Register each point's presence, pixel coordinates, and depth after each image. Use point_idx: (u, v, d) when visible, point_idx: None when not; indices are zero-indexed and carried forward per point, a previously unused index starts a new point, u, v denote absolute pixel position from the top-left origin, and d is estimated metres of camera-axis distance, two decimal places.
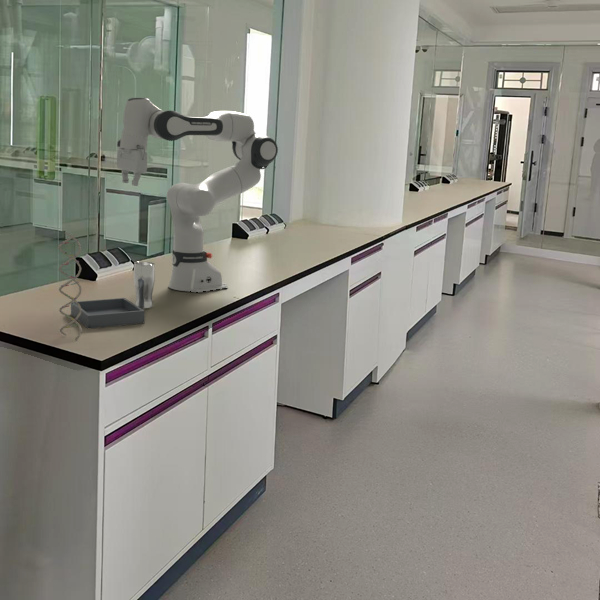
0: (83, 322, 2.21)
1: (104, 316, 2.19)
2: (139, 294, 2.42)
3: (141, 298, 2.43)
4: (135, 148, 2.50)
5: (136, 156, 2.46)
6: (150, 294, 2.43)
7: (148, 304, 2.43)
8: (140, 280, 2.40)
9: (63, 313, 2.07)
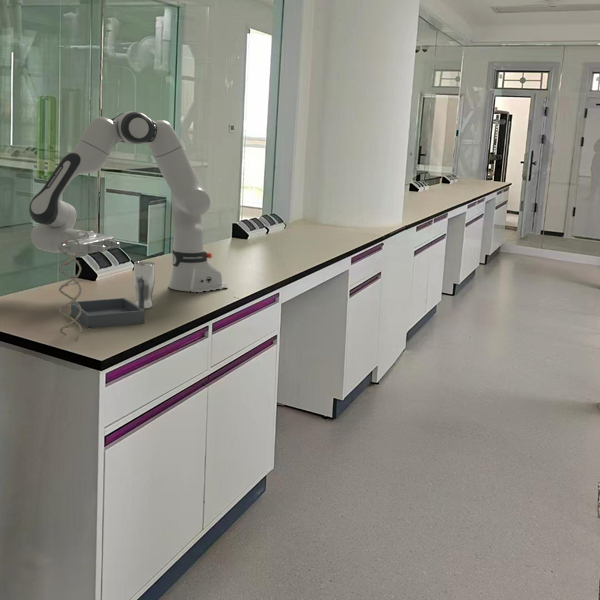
0: (83, 322, 2.21)
1: (104, 316, 2.19)
2: (139, 294, 2.42)
3: (141, 298, 2.43)
4: None
5: (70, 252, 2.39)
6: (150, 294, 2.43)
7: (148, 304, 2.43)
8: (140, 280, 2.40)
9: (63, 313, 2.07)
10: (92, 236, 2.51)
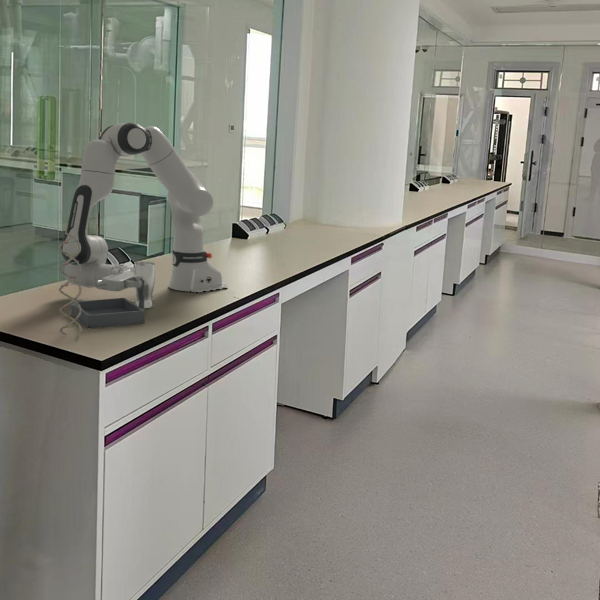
0: (83, 322, 2.21)
1: (104, 316, 2.19)
2: (139, 294, 2.42)
3: (141, 298, 2.43)
4: None
5: None
6: (150, 294, 2.43)
7: (148, 304, 2.43)
8: (140, 280, 2.40)
9: (63, 313, 2.07)
10: (126, 271, 2.50)
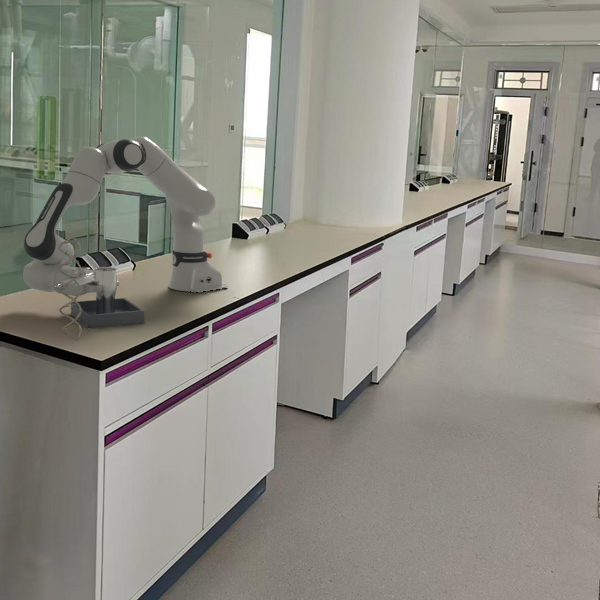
0: (83, 322, 2.21)
1: (104, 316, 2.19)
2: (100, 302, 2.25)
3: (101, 307, 2.25)
4: None
5: None
6: (112, 302, 2.26)
7: None
8: None
9: (63, 313, 2.07)
10: (89, 274, 2.33)
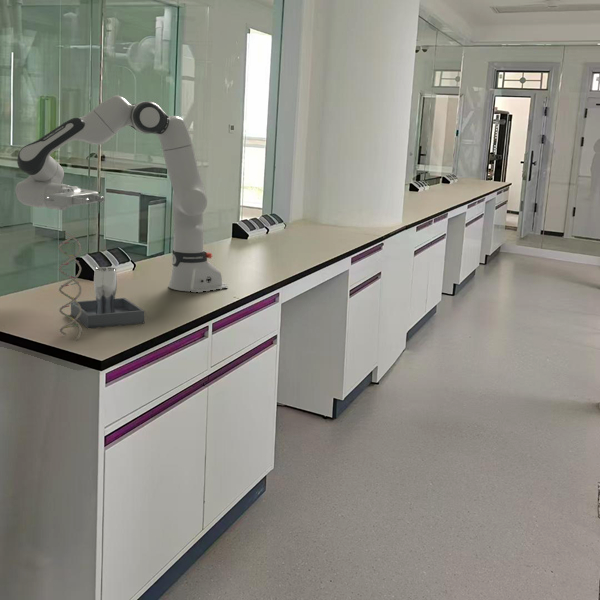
0: (83, 322, 2.21)
1: (104, 316, 2.19)
2: (100, 302, 2.25)
3: (101, 307, 2.25)
4: None
5: (54, 205, 2.39)
6: (112, 302, 2.26)
7: None
8: (100, 287, 2.23)
9: (63, 313, 2.07)
10: (76, 191, 2.51)
